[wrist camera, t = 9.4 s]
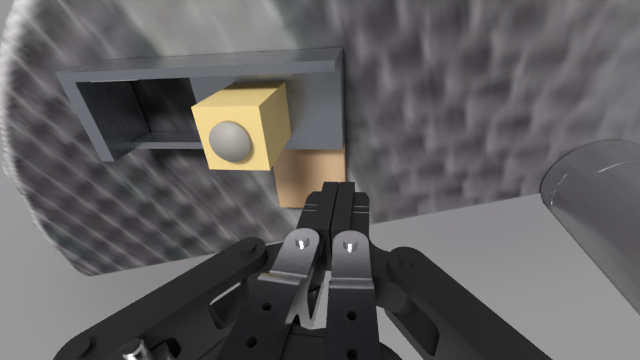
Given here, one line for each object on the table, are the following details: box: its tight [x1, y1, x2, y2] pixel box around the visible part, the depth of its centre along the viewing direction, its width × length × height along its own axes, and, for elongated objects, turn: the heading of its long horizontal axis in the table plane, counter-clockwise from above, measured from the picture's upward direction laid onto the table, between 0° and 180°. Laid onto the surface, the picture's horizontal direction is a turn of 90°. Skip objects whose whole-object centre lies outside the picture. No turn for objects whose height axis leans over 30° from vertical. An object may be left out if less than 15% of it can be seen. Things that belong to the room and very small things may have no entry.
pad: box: [273, 141, 346, 208], centre depth 32 cm, size 8×8×2 cm
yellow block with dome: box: [191, 82, 291, 170], centre depth 23 cm, size 5×5×8 cm
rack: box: [55, 47, 345, 161], centre depth 27 cm, size 24×9×7 cm, turn 94°
